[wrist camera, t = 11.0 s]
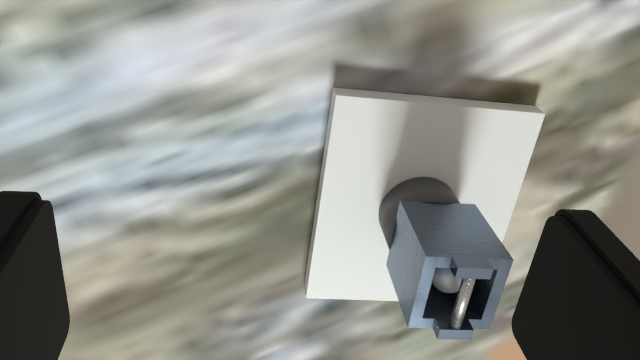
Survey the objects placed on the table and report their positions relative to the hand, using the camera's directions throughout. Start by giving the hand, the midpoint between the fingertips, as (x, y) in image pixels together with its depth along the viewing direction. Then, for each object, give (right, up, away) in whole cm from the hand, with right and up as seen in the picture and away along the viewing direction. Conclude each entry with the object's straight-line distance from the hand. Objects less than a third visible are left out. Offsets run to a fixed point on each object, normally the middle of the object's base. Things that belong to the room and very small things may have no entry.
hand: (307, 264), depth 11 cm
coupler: (+7, -2, +26) cm, 27 cm away
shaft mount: (+7, 0, +30) cm, 31 cm away
